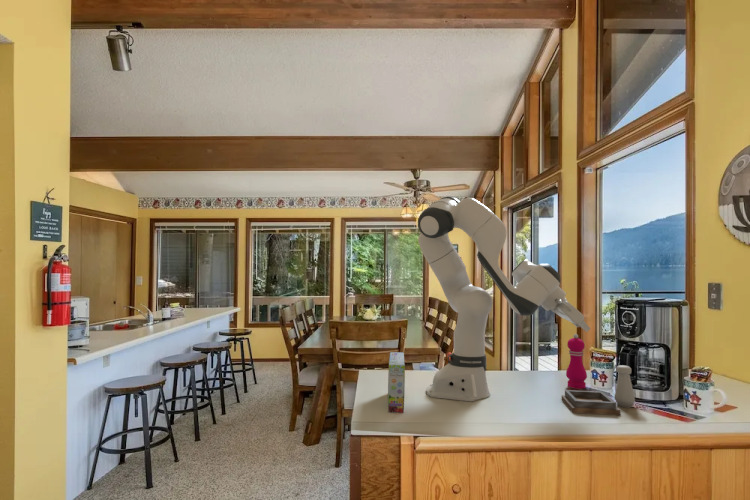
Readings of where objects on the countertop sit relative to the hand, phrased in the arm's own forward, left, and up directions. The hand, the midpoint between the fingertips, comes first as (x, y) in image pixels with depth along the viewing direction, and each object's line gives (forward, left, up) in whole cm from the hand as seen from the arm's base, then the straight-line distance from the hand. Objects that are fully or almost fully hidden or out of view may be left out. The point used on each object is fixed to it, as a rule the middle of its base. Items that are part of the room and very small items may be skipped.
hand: (583, 327), depth 144 cm
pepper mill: (+3, +21, -25) cm, 33 cm away
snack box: (-63, -9, -26) cm, 68 cm away
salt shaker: (+12, 0, -25) cm, 28 cm away
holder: (0, -3, -25) cm, 25 cm away
